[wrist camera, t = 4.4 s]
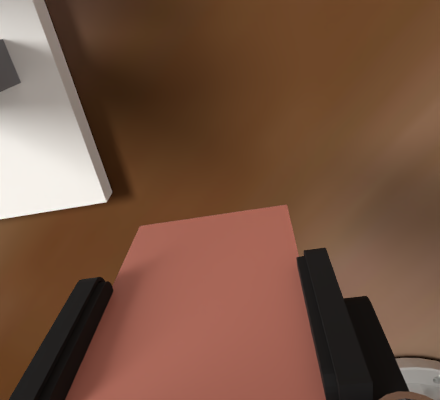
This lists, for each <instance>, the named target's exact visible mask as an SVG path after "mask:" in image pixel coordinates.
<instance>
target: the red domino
mask: <svg viewBox="0 0 440 400" xmlns="http://www.w3.org/2000/svg"><path fill="white" fill-rule="evenodd" d="M296 257H299V255H298V251H297V246H296V242H295V238H294V233H293V229H292V225H291V220H290V216H289V212H288V208H287V205H281V206H274V207H268V208H261V209H254V210H247V211H240V212H233V213H226V214H220V215H213V216H206V217H199V218H192V219H185V220H179V221H172V222H165V223H158V224H151V225H144V226H140V227H139V229H138V232H137V234H136V236H135V238H134V240H133V243H132V245H131V247H130V249H129V251H128V253H127V256H126V258H125V260H124V262H123V264H122V267H121V269H120V271H119V273H118V275H117V277H116V280H115V282H114V284H113V286H112V288H113V290H114V291H113V293H112V296H111V298H110V300H109V302H108V305H107V307H106V309H105V311H104V314H103V316H102V318H101V320H100V323H99V325H98V327H97V329H96V331H95V334H94V336H93V338H92V340H91V343H90V345H89V347H88V349H87V352H86V354H85V356H84V358H83V361H82V363H81V365H80V367H79V370H78V372H77V374H76V376H75V379H74V381H73V383H72V385H71V388H70V390H69V392H68V394H67V397H66V399H65V400H326V397H325V393H324V388H323V383H322V379H321V374H320V370H319V365H318V360H317V356H316V351H315V346H314V342H313V337H312V333H311V328H310V323H309V319H308V314H307V309H306V305H305V300H304V295H303V291H302V286H301V282H300V277H299V272H298V268H297V260H296Z"/></svg>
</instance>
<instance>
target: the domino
mask: <svg viewBox="0 0 440 400" xmlns="http://www.w3.org/2000/svg"><path fill="white" fill-rule="evenodd" d="M19 83H21V81H20V79H19V76H18V74H17V72H16V69H15V67H14V64H13V62H12V60H11V57H10V55H9V52H8V50H7V48H6V45H5V43H4V40H3V39H1V40H0V92H1V91H4V90H6V89H8V88H10V87H13V86H15V85H17V84H19Z"/></svg>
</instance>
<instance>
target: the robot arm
mask: <svg viewBox="0 0 440 400" xmlns="http://www.w3.org/2000/svg"><path fill="white" fill-rule="evenodd" d="M296 260H297V268H298V272H299V277H300V282H301V286H302V291H303V295H304V300H305V305H306V309H307V314H308V319H309V323H310V328H311V333H312V337H313V342H314V346H315V351H316V356H317V360H318V365H319V370H320V374H321V379H322V383H323V388H324V393H325V397H326V400H440V362H438V361H435V360H428V359H422V358H395V357H394V354H393V352H392V350H391V348H390V345H389V343H388V341H387V338H386V336H385V334H384V332H383V329H382V327H381V325H380V322H379V320H378V318H377V316H376V313H375V311H374V309H373V306H372V304H371V302H370V300H369V298H368V297H367V296H362V297H353V298H344V299H343V296H342V293H341V291H340V288H339V285H338V282H337V279H336V276H335V273H334V270H333V268H332V265H331V262H330V259H329V256H328V253H327V250H326V248H319V249H312V250H304V256H302V257H296ZM113 291H114V290H113V288H112V285H111V283H110V282H108V281H107V282H105V281H104V279H103V278H101V277H97V278H89V279H82V280H79V282H78V283H77V284H76V286H75V288H74V290H73V291H72V293H71V295H70V296H69V298H68V300H67V301H66V303H65V305H64V307H63V308H62V310H61V312H60V313H59V315H58V317H57V318H56V320H55V322H54V324H53V325H52V327H51V329H50V330H49V332H48V334H47V336H46V337H45V339H44V341H43V342H42V344H41V346H40V347H39V349H38V351H37V353H36V354H35V356H34V358H33V359H32V361H31V363H30V364H29V366H28V368H27V370H26V371H25V373H24V375H23V376H22V378H21V380H20V382H19V383H18V385H17V387H16V388H15V390H14V392H13V393H12V395H11V397H10V399H9V400H65V399H66V397H67V394H68V392H69V390H70V388H71V385H72V383H73V381H74V379H75V376H76V374H77V372H78V370H79V367H80V365H81V363H82V361H83V358H84V356H85V354H86V352H87V349H88V347H89V345H90V343H91V340H92V338H93V336H94V334H95V331H96V329H97V327H98V325H99V323H100V320H101V318H102V316H103V314H104V311H105V309H106V307H107V305H108V302H109V300H110V298H111V296H112V293H113Z"/></svg>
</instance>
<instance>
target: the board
mask: <svg viewBox="0 0 440 400" xmlns="http://www.w3.org/2000/svg"><path fill="white" fill-rule="evenodd" d="M1 39H3V40H4V43H5V45H6V48H7V50H8V52H9V55H10V57H11V60H12V62H13V64H14V67H15V69H16V72H17V74H18V76H19V79H20V81H21V83H19V84H17V85H15V86H13V87H10V88H8V89H6V90H4V91H1V92H0V219H5V218H11V217H17V216H24V215H30V214H36V213H42V212H49V211H55V210H61V209H67V208H73V207H80V206H86V205H92V204H98V203H104V202H107V201H108V199H109V197H110V196H111V194H112V190H111V187H110V184H109V181H108V178H107V176H106V173H105V170H104V167H103V164H102V162H101V159H100V156H99V153H98V150H97V147H96V145H95V142H94V139H93V136H92V133H91V131H90V128H89V125H88V122H87V119H86V117H85V114H84V111H83V108H82V105H81V102H80V100H79V97H78V94H77V91H76V88H75V86H74V83H73V80H72V77H71V74H70V72H69V69H68V66H67V63H66V60H65V57H64V55H63V52H62V49H61V46H60V43H59V41H58V38H57V35H56V32H55V29H54V27H53V24H52V21H51V18H50V15H49V13H48V10H47V7H46V4H45V1H44V0H0V40H1Z"/></svg>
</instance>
